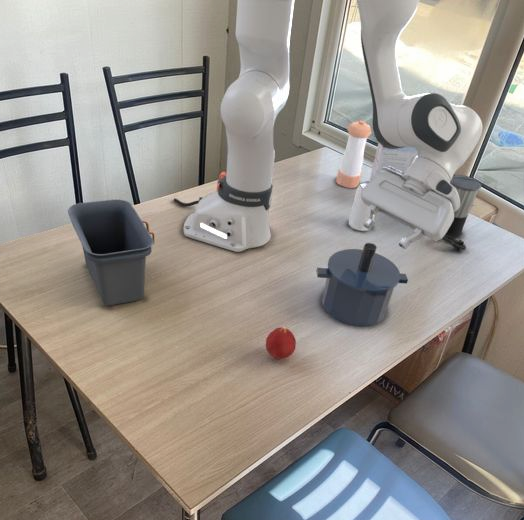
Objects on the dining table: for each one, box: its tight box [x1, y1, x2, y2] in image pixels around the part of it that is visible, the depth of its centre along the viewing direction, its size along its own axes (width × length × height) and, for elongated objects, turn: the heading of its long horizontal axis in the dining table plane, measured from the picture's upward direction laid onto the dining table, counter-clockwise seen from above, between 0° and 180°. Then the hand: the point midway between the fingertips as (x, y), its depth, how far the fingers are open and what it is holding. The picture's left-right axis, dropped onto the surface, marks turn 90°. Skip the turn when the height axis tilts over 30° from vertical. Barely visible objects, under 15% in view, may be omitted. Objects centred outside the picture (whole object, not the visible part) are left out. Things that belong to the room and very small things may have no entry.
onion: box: [265, 326, 297, 360], centre depth 102 cm, size 6×6×8 cm
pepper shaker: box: [335, 120, 372, 189], centre depth 163 cm, size 7×7×19 cm
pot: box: [315, 266, 409, 327], centre depth 117 cm, size 14×20×10 cm
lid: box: [327, 242, 400, 293], centre depth 112 cm, size 16×16×7 cm
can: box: [348, 180, 376, 232], centre depth 145 cm, size 6×6×12 cm
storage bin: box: [67, 199, 155, 307], centre depth 113 cm, size 21×16×14 cm
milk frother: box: [441, 173, 482, 251], centre depth 145 cm, size 14×16×15 cm
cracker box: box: [368, 142, 418, 181], centre depth 154 cm, size 14×6×21 cm, turn 92°
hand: (383, 237), depth 112 cm, fingers open, 8 cm apart
